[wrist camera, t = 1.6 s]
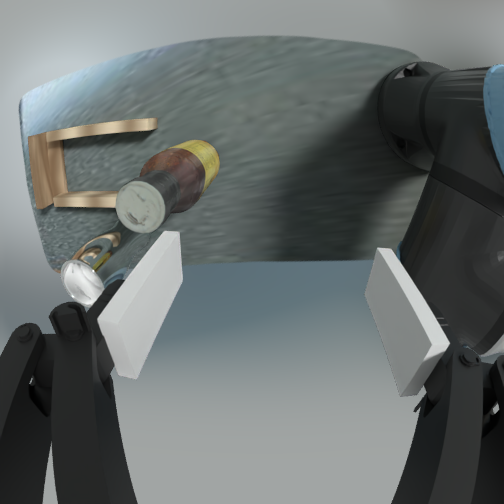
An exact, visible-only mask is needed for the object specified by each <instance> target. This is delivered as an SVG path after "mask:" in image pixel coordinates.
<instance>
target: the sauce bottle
mask: <svg viewBox="0 0 504 504" xmlns="http://www.w3.org/2000/svg"><path fill="white" fill-rule="evenodd" d="M218 170H219V155H218V153H217V151H216V150H215V149H214V147H213V146H211V145H210V144H209V143H208V142H206V141H201V140H190V141H187V142H184V143H181V144H179V145H176V146H174V147H171V148H168V149H166V150H164V151H162V152H160V153H159V154H156V155H154V156H153V157H152V158H151V159H149V161H147V162H146V164H145V165H144V166H143V168H142V170H141V173H140V176H139V177H137V178H135V179H133V180H131V181H130V182H128V183H126V184H125V185H124V186H123V187H122V188H121V189H120V190H119V192H118V194H117V198H116V206H115V207H116V212H117V215H118V217H119V219H120V221H121V222H122V224H124V226H125V227H127V228H128V229H130V230H132V231H134V232H137V233H142V234H144V233H151V232H153V231H155V230H156V229H158V228H159V227H160V226H161V225H162V224H163V223H164V222H165V221H166V219H167V218H168V216H169V214H171V213H180V212H184V211H186V210H188V209H190V208H191V207H192V206H193V205H194V204H195V203H196V202H197V201H198V200H199V198H200V197H201V196H202V194H203V193H204V191H205V190H206V189H207V188H208V186H209V185H210V184H211V182H212V181H213V180H214V178H215V177H216V175H217V173H218Z"/></svg>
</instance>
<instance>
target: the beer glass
mask: <svg viewBox="0 0 504 504" xmlns="http://www.w3.org/2000/svg"><path fill="white" fill-rule="evenodd" d="M149 239H150V233H144V234H142V233H137V232H134V231H132V230H130V229H128V228H127V227H125V226H124V224H122V222H121V221H120V219H118V220H117V221H116V223H115V224H114V226H113V227H112V228H110V229H109V230H107V231H105V232H103V233H100V234H98V235H96V236H94V237H93V238H91V239H89V240H88V241H87V242H85V243H84V244H83V245H82V246H80V247H79V248H78V249H77V250H76V251H75V252H74V254H73V255H72V256H71V257H70V258H69V259H68V260H67V262H65V263H64V264H63V266H62V268H61V280H62V283H63V286H64V288H65V289H66V291H67V292H68V294H69V295H70V296H71V297H72V298H73V299H74V300H75V301H76V302H78V303H81V304H82V305H83V306H85V307H89V308H90V307H91V306H92V305H93V304H94V302H95V301H97V298H98V297H99V296H100V295H102V292H103V291H104V289H105V288H106V287H107V286H108V285H109V284H111V283H112V282H114V281H115V280H117V279H121V280H122V279H123V278H124V276H125V274H126V272H127V271H128V268H129V266H130V264H131V262H132V259H133V257H134V256H135V254H136V253H137V252H138V251H140V250H141V249H143V248H144V247H145V246H146V245H147V244H148V242H149Z"/></svg>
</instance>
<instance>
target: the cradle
mask: <svg viewBox="0 0 504 504" xmlns="http://www.w3.org/2000/svg"><path fill="white" fill-rule="evenodd" d="M153 129H157V118H146V119H133V120H123V121H113V122H105V123H97V124H90V125H83V126H77V127H71V128H65V129H60V130H55V131H50V132H45V133H41V134H37V135H33V136H29V137H28V145H29V156H30V166H31V174H32V181H33V188H34V195H35V200H36V206H37V209H43V208H45V207H47V206H48V205H50V204H52V203H54V207H112V208H116V207H115V206H116V198H117V194H118V192H119V191H81V192H68V188H67V180H66V172H65V162H64V150H63V139H69V138H76V137H83V136H91V135H99V134H109V133H119V132H132V131H147V130H153Z"/></svg>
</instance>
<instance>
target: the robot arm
mask: <svg viewBox="0 0 504 504" xmlns="http://www.w3.org/2000/svg"><path fill="white" fill-rule="evenodd" d="M378 117H379V122H380V126H381V129H382V132H383V135H384V137H385V139H386V141H387V142H388V144H389V145H390V147H391V148H392V149H393V151H394V152H395V153H396V154H397V155H398V156H399V157H400V158H402V159H403V160H404V161H406V162H408V163H410V164H411V165H414V166H416V167H418V168H420V169H423V170H427V171H430V173H429V175H428V178H427V181H426V184H425V187H424V189H423V192H422V195H421V197H420V200H419V202H418V205H417V207H416V210H415V212H414V215H413V217H412V220H411V222H410V225H409V227H408V229H407V232H406V234H405V236H404V238H403V241H401V242H400V243H399V245H398V247H397V255H396V256H395V254H394V253H393V251H392V250H391V249H387V248H377V250H376V254H375V258H374V262H373V266H372V269H371V273H370V276H369V280H368V283H367V287H366V290H365V294H364V295H365V297H366V300H367V302H368V305H369V307H370V310H371V313H372V316H373V318H374V321H375V323H376V326H377V329H378V332H379V334H380V337H381V340H382V343H383V346H384V348H385V351H386V354H387V357H388V360H389V363H390V366H391V369H392V373H393V376H394V379H395V382H396V385H397V388H398V392H399V395H400V397H403V396H412V395H417V394H418V393H419V391H420V390H421V388H422V387H423V385H424V387H425V389H426V392H427V393H426V394H425V395H424V397H423V398H422V400H421V401H420V402H419V404H418V405H417V406H416V407H415V409H414V412H416V411H417V410H418V409H419V408H420V407H421V408H420V412H419V417H418V421H417V425H416V429H415V433H414V437H413V441H412V444H411V448H410V451H409V455H408V458H407V461H406V465H405V467H404V470H403V474H402V476H401V479H400V482H399V485H398V487H397V491H396V493H395V496H394V498H393V500H392V503H391V504H504V355H501V356H499V357H498V358H497V360H496V361H495V363H494V364H489V363H483V362H481V359H480V358H479V356H478V355H477V354H479V355H480V356H482V357H484V356H488V355H491V354H495V353H498V352H502V353H504V65H501V64H500V65H498V64H497V65H495V66H494V65H493V66H492V67H477V68H467V69H457V70H450V69H448V68H445V67H443V66H440V65H438V64H435V63H431V62H423V61H422V62H413V63H409V64H405V65H403V66H400V67H399V68H397V69H395V70H394V71H393V72H392V73H391V74H390V75H389V76H388V77H387V79H386V80H385V82H384V83H383V86H382V88H381V91H380V94H379V99H378ZM182 281H183V275H182V263H181V250H180V234H179V232H174V231H164V232H163V233H162V234H161V236H160V237H159V238H158V239H157V241H156V242H155V243H154V244H153V246H152V247H151V248H150V249H149V251H148V252H147V253H146V254H145V256H144V257H143V258H142V259H141V261H140V262H139V263H138V265H137V266H136V267H135V268H134V270H133V271H132V272H131V274H130V275H129V276H128V278H127V279H126V280H121V279H117V280H115V281H114V282H112V283H111V284H109V285H108V286H107V287H106V288H105V289H104V291H103V292H102V295H100V296H99V297H98V298H97V301H95V302H94V304H93V305H92V306H91V307H90V309H89V310H88V311H87V313H86V311H85V308H84V306H83V305H82V304H81V303H77V302H66V303H63V304H61V305H59V306H57V307H55V308H54V309H53V311H52V312H51V313H50V315H49V319H50V321H51V323H52V326H53V328H54V330H55V333H56V334H42V332H41V330H40V328H39V327H38V326H37V325H36V324H33V323H26V324H23V325H21V326H19V327H18V328H16V329H15V331H14V332H13V333H12V335H11V337H10V338H9V340H8V342H7V344H6V346H5V348H4V350H3V352H2V354H1V356H0V504H42V502H43V493H44V484H45V477H46V470H47V463H48V457H49V451H50V446H51V441H52V456H53V468H54V478H55V486H56V493H57V500H58V504H138V503H137V500H136V497H135V493H134V489H133V486H132V482H131V478H130V474H129V470H128V466H127V462H126V457H125V453H124V449H123V443H122V439H121V433H120V428H119V422H118V416H117V409H116V403H115V395H114V387H113V380H112V377H111V375H110V373H111V371H112V369H113V367H114V366H115V368H116V371H117V373H118V375H119V376H122V377H127V378H131V379H135V380H137V379H138V376H139V374H140V372H141V369H142V367H143V365H144V363H145V360H146V358H147V356H148V354H149V351H150V349H151V347H152V345H153V343H154V340H155V338H156V336H157V334H158V332H159V329H160V327H161V325H162V323H163V321H164V319H165V317H166V315H167V312H168V310H169V308H170V306H171V304H172V302H173V300H174V298H175V296H176V293H177V292H178V289H179V288H180V285H181V283H182ZM466 346H468V347H470V348H471V349H472V350H471V349H469V348H466ZM473 350H474V351H475V352H476V353H477V354H476V353H475V352H474V351H473ZM31 378H33V380H32V382H31V384H29V383H30V381H31ZM497 403H498V405H499V410H498V412H497V413H496V414H494V412H493V408H494V407H495V406H496V405H497Z"/></svg>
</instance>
